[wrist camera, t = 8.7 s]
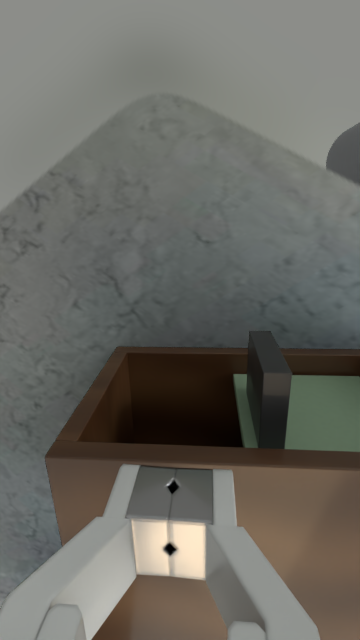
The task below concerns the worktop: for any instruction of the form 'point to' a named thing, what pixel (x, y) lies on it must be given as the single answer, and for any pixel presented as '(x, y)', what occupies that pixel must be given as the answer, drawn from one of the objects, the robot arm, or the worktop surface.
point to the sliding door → (294, 404)
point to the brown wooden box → (212, 453)
